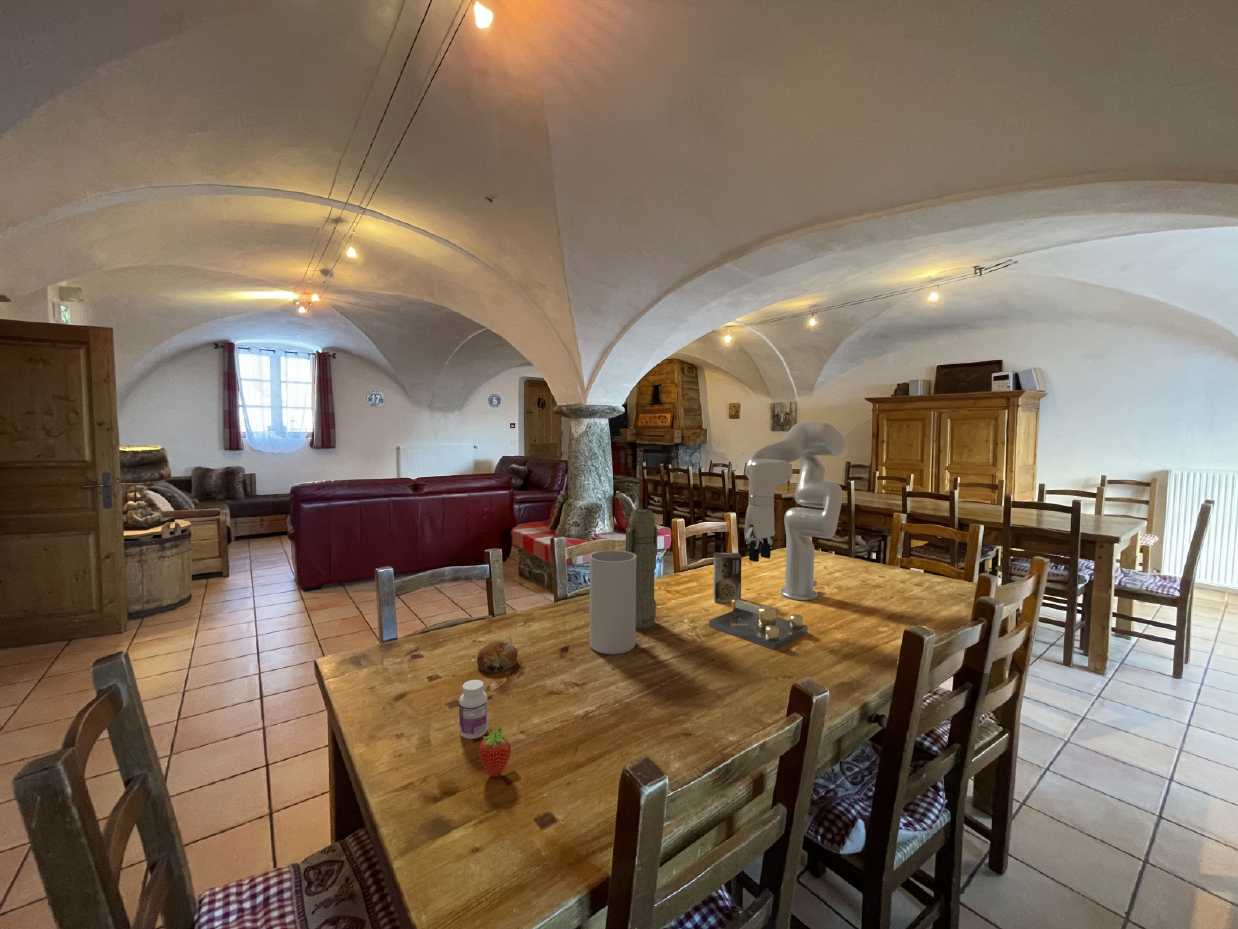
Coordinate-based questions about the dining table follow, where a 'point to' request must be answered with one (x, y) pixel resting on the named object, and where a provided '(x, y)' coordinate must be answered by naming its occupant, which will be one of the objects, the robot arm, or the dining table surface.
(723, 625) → the base
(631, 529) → the stone statue
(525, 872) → the dining table surface
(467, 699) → the pill bottle
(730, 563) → the coffee box
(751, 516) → the robot arm
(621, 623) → the cylinder vase
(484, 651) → the bread roll
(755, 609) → the ball-ended bar
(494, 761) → the fruit
